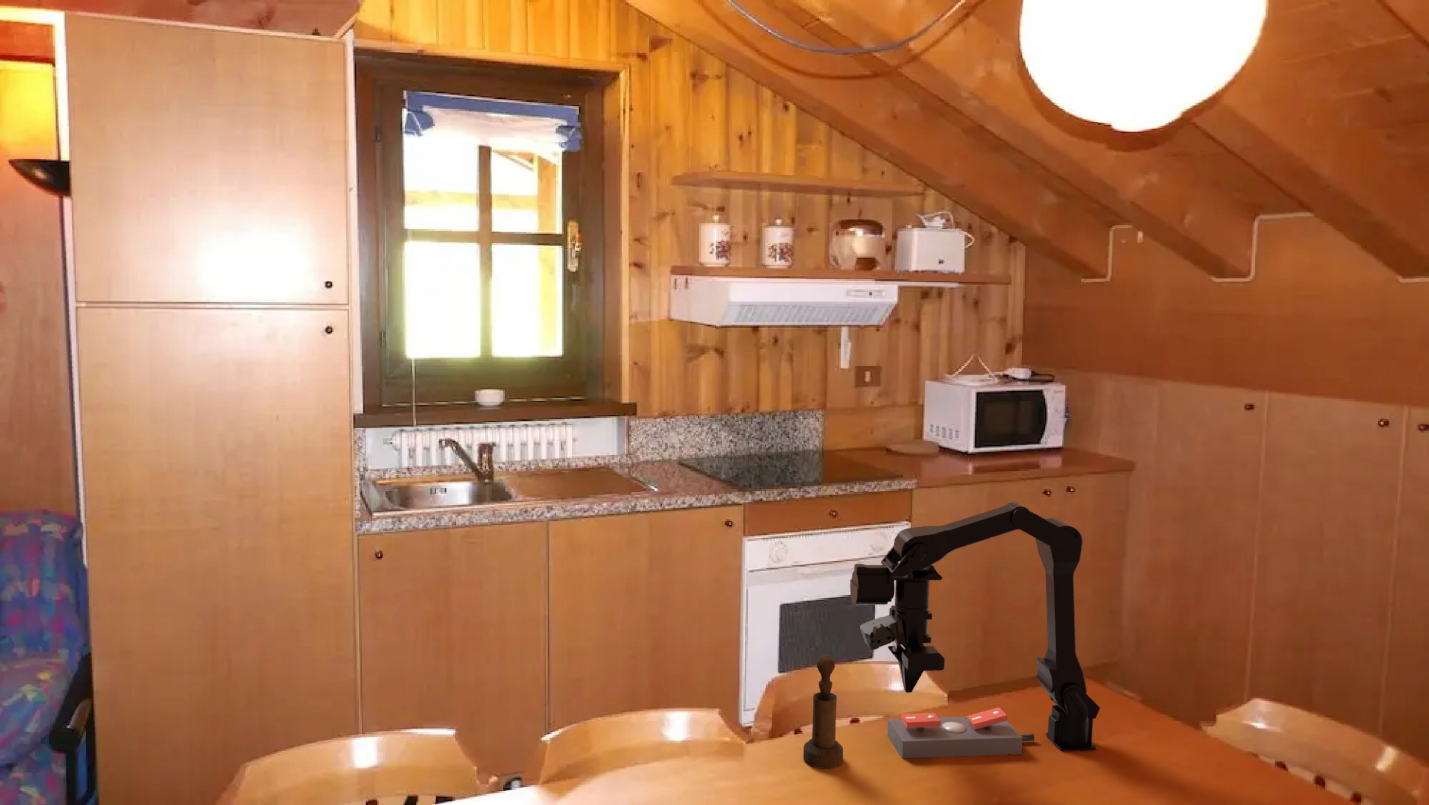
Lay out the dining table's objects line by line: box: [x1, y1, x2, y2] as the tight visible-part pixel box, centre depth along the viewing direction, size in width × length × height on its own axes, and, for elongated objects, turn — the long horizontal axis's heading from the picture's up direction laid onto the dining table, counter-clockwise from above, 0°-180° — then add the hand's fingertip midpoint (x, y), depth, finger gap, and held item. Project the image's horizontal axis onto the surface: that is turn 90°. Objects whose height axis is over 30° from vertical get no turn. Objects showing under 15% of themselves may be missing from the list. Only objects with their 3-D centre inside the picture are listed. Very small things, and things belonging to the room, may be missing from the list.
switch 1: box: [900, 712, 941, 728], centre depth 176 cm, size 6×3×1 cm, turn 96°
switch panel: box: [886, 716, 1035, 759], centre depth 177 cm, size 25×9×4 cm, turn 96°
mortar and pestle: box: [802, 654, 844, 769], centre depth 170 cm, size 7×6×18 cm
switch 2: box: [966, 706, 1008, 729], centre depth 178 cm, size 6×3×1 cm, turn 96°
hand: (908, 691), depth 175 cm, fingers closed
